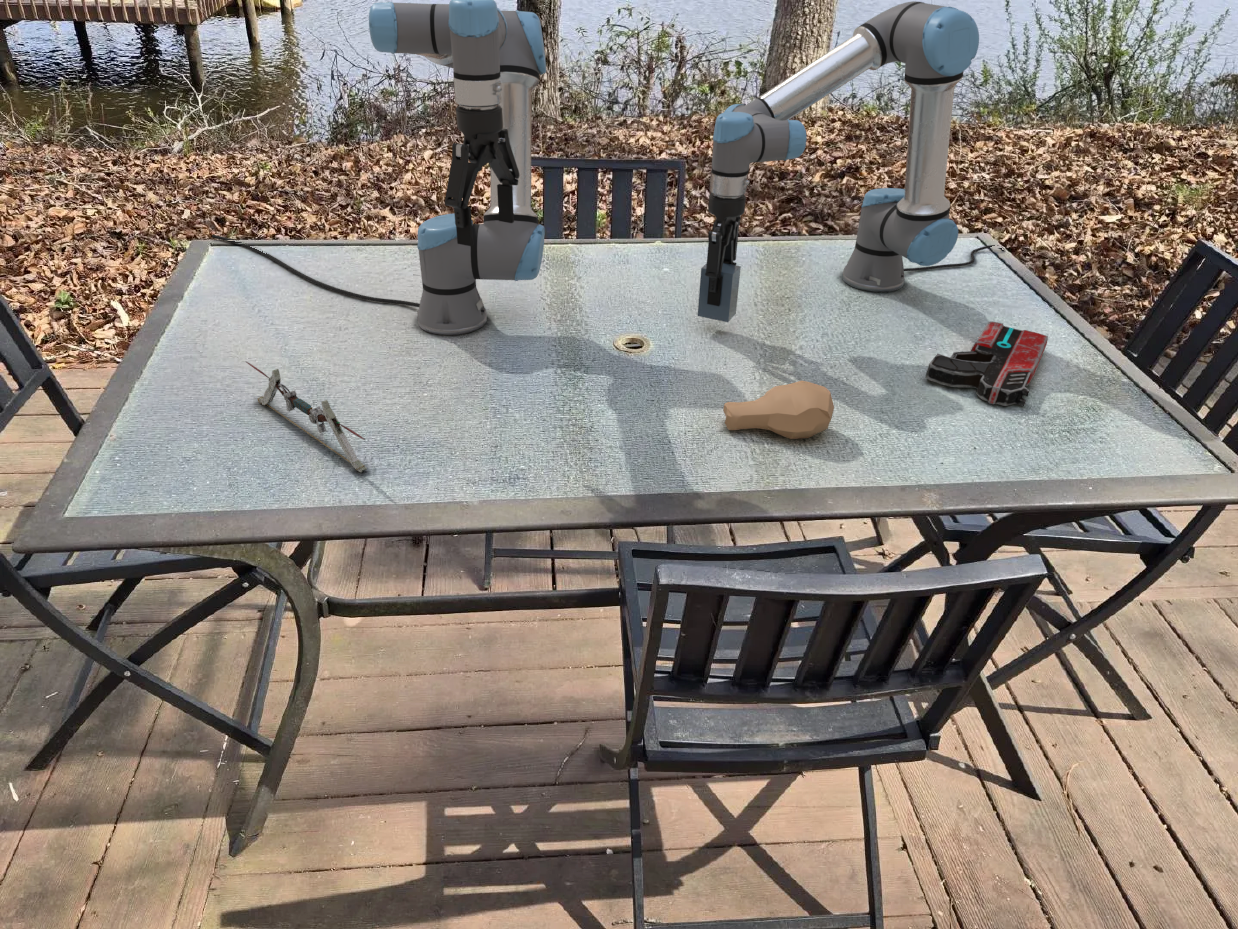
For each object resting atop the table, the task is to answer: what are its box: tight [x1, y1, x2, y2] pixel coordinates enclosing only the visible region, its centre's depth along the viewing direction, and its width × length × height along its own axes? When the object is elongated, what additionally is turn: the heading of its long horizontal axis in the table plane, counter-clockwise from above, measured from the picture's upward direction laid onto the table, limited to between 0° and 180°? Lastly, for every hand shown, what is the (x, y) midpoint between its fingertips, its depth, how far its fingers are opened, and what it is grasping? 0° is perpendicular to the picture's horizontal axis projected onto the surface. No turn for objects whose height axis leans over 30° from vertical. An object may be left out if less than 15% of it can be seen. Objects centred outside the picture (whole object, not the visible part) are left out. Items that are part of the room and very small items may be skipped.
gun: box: [925, 320, 1049, 407], centre depth 183 cm, size 4×31×19 cm
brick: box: [697, 262, 742, 323], centre depth 191 cm, size 7×5×11 cm
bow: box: [244, 360, 368, 473], centre depth 153 cm, size 39×2×10 cm, turn 47°
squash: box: [722, 380, 835, 440], centre depth 159 cm, size 11×20×9 cm, turn 90°
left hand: (486, 232), depth 154 cm, fingers open, 13 cm apart
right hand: (718, 299), depth 192 cm, fingers closed on brick, 5 cm apart
